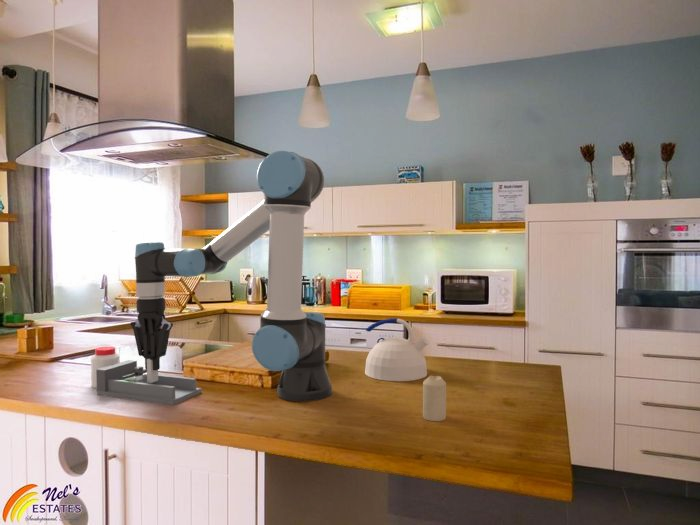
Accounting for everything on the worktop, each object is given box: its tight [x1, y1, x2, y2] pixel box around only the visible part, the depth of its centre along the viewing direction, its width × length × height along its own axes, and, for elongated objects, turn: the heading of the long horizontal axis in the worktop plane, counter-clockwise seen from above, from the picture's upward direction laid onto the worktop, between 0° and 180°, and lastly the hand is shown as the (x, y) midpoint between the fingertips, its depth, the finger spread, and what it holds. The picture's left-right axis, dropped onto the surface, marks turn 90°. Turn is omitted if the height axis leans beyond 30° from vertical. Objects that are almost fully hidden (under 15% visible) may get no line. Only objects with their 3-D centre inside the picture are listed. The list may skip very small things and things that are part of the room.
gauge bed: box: [96, 359, 202, 406], centre depth 144 cm, size 26×12×7 cm, turn 69°
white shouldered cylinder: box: [422, 375, 447, 422], centre depth 124 cm, size 6×6×10 cm
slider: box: [122, 366, 153, 384], centre depth 145 cm, size 4×12×6 cm, turn 160°
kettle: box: [364, 318, 429, 382], centre depth 166 cm, size 20×21×18 cm
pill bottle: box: [90, 346, 121, 389], centre depth 154 cm, size 8×8×11 cm
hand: (152, 381), depth 144 cm, fingers closed
